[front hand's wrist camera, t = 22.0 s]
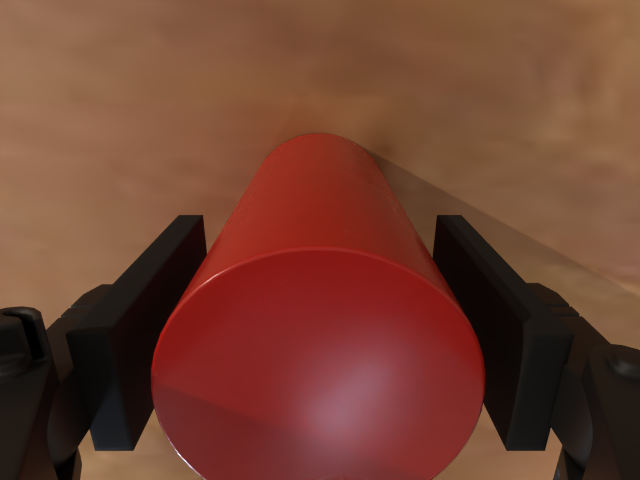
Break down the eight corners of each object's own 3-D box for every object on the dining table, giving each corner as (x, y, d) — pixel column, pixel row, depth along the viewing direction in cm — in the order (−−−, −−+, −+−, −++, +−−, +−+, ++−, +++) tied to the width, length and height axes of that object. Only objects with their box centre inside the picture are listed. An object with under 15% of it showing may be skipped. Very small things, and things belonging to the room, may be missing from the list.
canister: (357, 278, 21) (404, 543, 9) (236, 240, 20) (122, 475, 9) (408, 160, 19) (551, 313, 7) (274, 112, 18) (192, 194, 6)
